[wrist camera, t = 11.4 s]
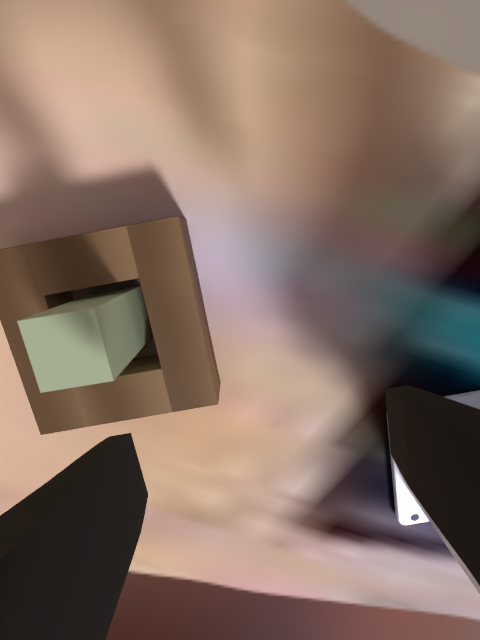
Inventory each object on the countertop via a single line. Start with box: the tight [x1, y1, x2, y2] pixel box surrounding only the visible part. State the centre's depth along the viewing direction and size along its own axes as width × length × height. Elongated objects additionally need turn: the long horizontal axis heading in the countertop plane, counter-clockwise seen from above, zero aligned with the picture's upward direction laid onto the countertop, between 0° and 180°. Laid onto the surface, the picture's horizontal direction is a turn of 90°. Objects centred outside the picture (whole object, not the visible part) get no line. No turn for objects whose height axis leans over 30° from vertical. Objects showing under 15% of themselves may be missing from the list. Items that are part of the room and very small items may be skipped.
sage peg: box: [17, 286, 152, 393], centre depth 15 cm, size 3×3×6 cm
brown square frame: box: [0, 216, 220, 435], centre depth 17 cm, size 9×9×2 cm
